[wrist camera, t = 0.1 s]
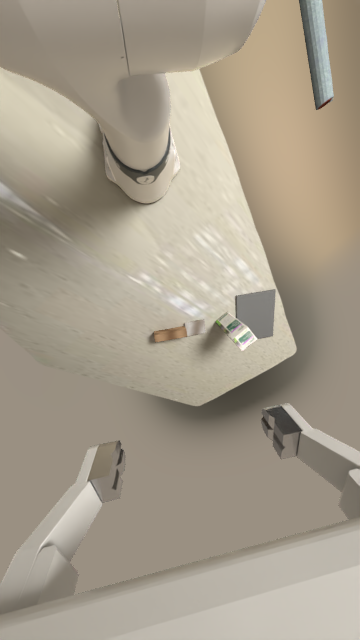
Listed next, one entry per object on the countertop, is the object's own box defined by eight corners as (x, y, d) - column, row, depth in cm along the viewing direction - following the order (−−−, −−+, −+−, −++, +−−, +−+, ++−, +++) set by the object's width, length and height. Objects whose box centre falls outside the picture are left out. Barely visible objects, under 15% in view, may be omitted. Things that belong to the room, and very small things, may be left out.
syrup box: (227, 311, 60) (247, 326, 47) (236, 322, 62) (258, 339, 48) (215, 321, 61) (231, 339, 47) (224, 332, 63) (242, 352, 49)
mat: (236, 295, 59) (236, 296, 58) (274, 289, 59) (275, 289, 59) (237, 341, 65) (237, 342, 64) (271, 335, 66) (272, 335, 65)
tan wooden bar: (156, 340, 61) (156, 345, 57) (153, 328, 59) (153, 332, 56) (205, 331, 62) (207, 336, 59) (203, 319, 60) (206, 322, 57)
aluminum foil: (291, -17, 37) (304, -43, 33) (320, -36, 36) (336, -64, 33) (312, 113, 45) (324, 102, 41) (336, 99, 44) (350, 86, 41)
